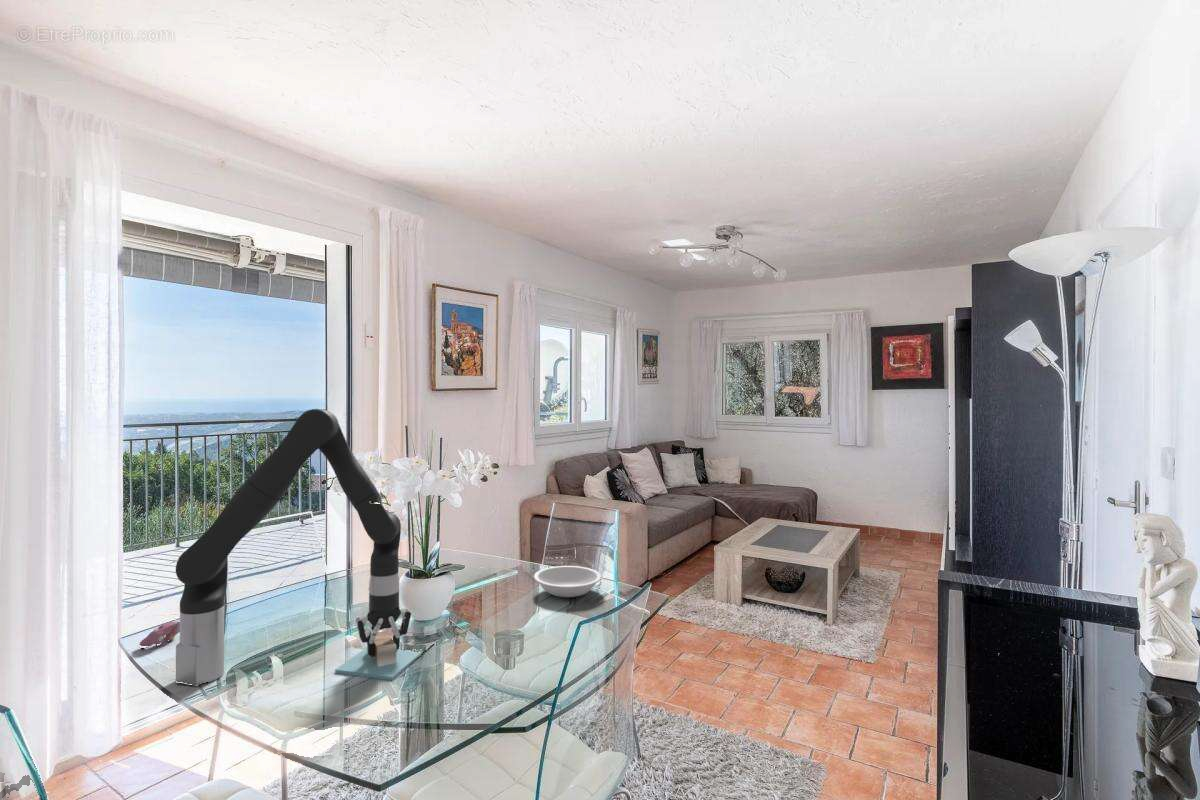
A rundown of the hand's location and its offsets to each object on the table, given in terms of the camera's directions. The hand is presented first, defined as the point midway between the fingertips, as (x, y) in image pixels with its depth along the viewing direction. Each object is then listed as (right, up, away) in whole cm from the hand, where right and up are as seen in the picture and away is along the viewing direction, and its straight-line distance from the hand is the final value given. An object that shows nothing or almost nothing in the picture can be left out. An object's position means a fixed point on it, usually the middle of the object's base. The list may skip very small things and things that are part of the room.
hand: (383, 653), depth 160 cm
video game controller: (-65, -1, +9) cm, 65 cm away
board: (0, -2, +2) cm, 3 cm away
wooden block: (-3, +1, +5) cm, 6 cm away
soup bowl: (+46, -2, +54) cm, 71 cm away
